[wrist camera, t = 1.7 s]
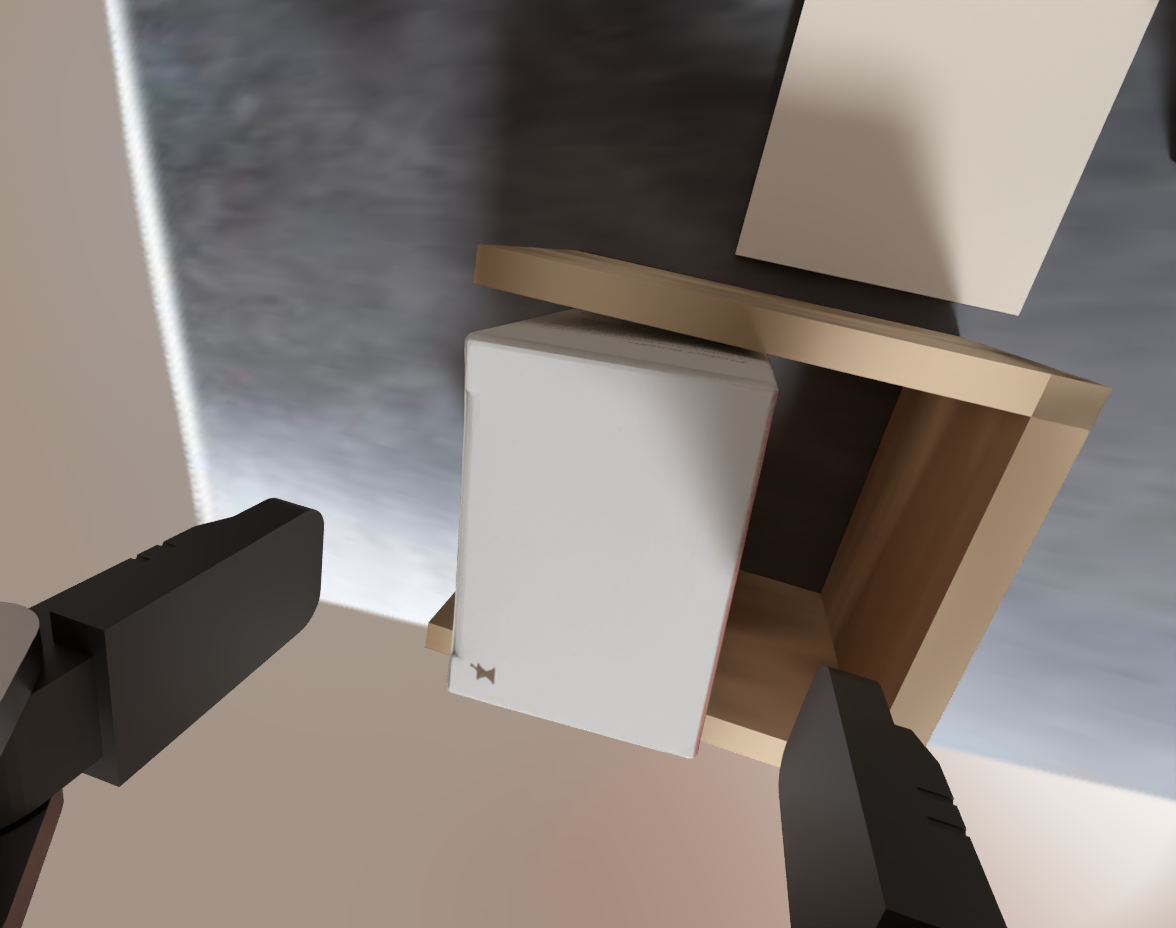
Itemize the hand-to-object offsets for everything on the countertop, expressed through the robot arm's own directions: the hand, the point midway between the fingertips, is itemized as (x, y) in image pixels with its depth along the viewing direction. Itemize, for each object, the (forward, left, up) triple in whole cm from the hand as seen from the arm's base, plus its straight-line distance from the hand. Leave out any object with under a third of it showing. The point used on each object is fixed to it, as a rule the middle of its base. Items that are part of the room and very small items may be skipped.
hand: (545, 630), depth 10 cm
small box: (0, 0, -13) cm, 13 cm away
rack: (-2, 0, -13) cm, 13 cm away
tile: (-5, -10, -13) cm, 17 cm away
